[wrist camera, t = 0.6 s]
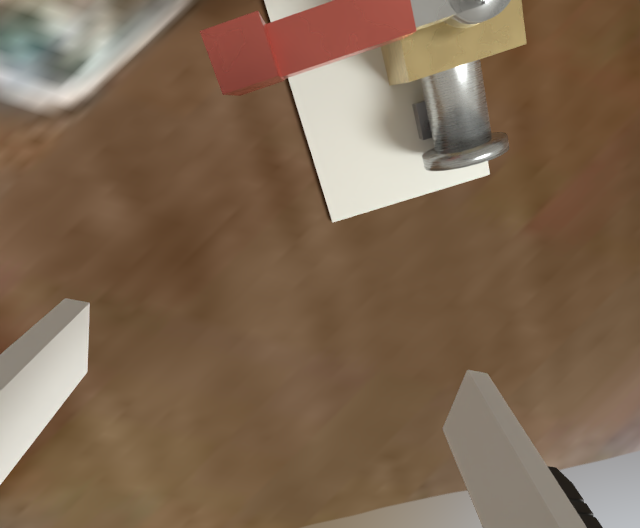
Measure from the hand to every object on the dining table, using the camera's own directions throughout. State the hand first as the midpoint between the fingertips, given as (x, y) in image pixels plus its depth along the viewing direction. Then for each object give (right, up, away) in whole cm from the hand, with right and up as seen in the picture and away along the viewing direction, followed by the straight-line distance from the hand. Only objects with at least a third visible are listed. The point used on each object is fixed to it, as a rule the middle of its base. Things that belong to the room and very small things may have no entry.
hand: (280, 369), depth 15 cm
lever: (+4, +18, +12) cm, 22 cm away
